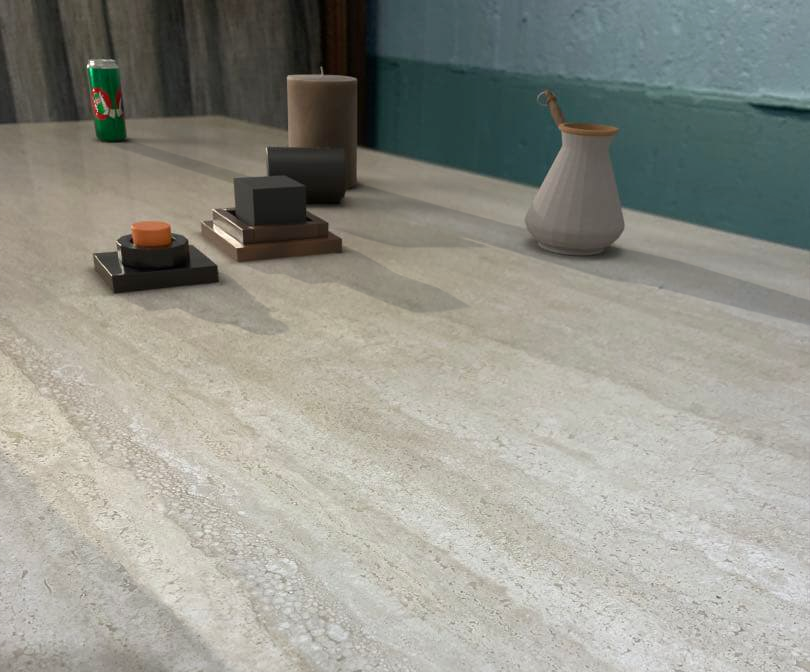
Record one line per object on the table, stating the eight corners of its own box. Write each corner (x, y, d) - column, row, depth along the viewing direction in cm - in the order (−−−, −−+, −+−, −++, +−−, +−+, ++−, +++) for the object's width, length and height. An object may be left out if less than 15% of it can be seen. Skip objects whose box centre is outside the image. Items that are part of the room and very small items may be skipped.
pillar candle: (349, 193, 121) (350, 71, 112) (281, 188, 122) (277, 67, 113) (362, 180, 129) (364, 65, 120) (298, 175, 130) (296, 61, 121)
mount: (237, 262, 90) (235, 233, 88) (201, 234, 99) (199, 207, 97) (342, 252, 95) (342, 224, 93) (299, 226, 104) (298, 200, 102)
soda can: (119, 137, 151) (110, 58, 144) (132, 141, 148) (123, 61, 141) (91, 138, 148) (80, 59, 141) (104, 143, 145) (93, 62, 138)
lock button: (138, 250, 81) (136, 231, 80) (129, 241, 84) (126, 222, 83) (176, 247, 82) (175, 228, 82) (166, 238, 85) (164, 219, 84)
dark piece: (114, 294, 80) (108, 255, 78) (95, 270, 85) (89, 234, 84) (219, 283, 84) (216, 246, 82) (194, 261, 90) (191, 226, 88)
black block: (255, 238, 93) (252, 189, 90) (236, 225, 97) (233, 178, 94) (306, 234, 95) (306, 185, 92) (286, 221, 99) (284, 175, 97)
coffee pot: (636, 260, 98) (663, 113, 90) (538, 260, 96) (558, 110, 88) (572, 215, 115) (590, 89, 107) (489, 215, 113) (501, 86, 105)
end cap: (269, 207, 111) (266, 150, 107) (266, 195, 117) (264, 141, 113) (346, 208, 113) (346, 152, 109) (340, 196, 119) (340, 143, 115)
